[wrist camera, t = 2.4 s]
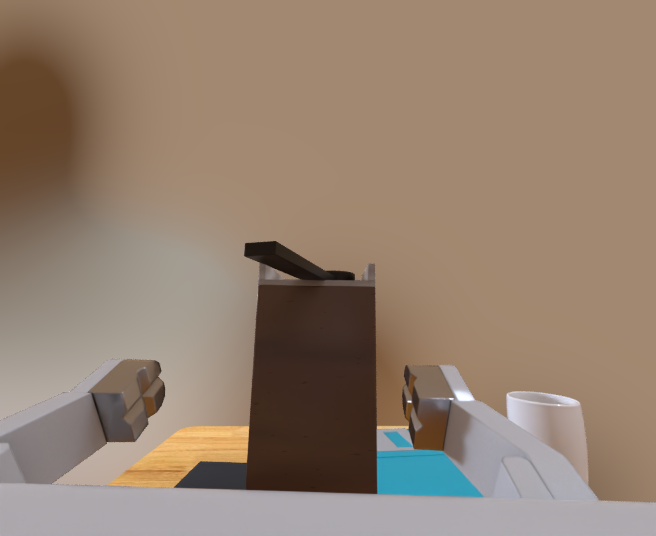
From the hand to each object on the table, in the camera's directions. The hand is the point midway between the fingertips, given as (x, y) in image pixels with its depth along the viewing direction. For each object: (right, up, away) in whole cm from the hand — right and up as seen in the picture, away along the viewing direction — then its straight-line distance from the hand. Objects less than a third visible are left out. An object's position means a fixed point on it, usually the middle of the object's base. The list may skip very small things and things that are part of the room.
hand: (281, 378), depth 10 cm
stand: (0, -24, +16) cm, 29 cm away
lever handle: (0, +3, +15) cm, 15 cm away
